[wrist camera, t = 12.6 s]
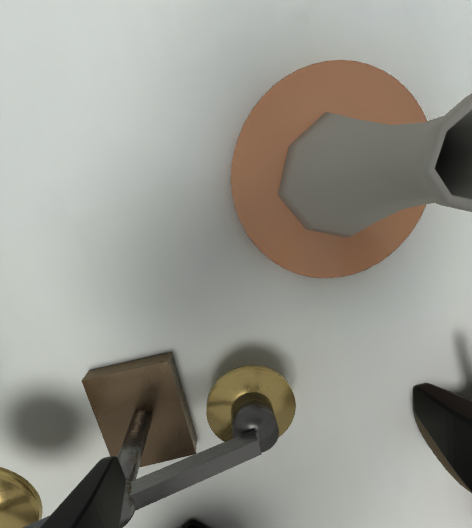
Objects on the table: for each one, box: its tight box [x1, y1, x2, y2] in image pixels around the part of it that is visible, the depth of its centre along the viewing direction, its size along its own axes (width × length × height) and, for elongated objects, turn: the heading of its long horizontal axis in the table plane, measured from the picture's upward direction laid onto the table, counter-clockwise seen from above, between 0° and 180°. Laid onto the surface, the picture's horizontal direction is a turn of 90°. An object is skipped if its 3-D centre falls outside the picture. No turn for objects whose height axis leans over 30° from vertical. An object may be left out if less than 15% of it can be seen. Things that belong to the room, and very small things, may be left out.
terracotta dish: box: [231, 60, 427, 278], centre depth 18 cm, size 13×13×1 cm
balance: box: [0, 352, 296, 528], centre depth 17 cm, size 22×8×9 cm, turn 101°
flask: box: [278, 94, 472, 238], centre depth 13 cm, size 7×7×10 cm
